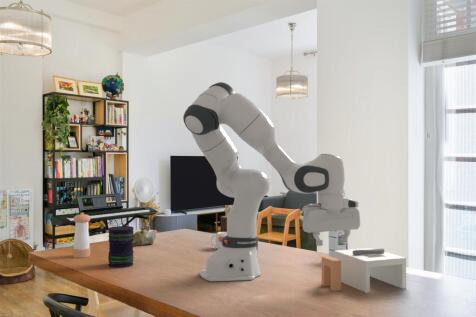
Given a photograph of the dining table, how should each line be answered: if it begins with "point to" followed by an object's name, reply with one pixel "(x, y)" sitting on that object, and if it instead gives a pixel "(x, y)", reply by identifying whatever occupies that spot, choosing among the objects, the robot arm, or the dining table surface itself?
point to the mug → (218, 239)
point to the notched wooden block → (331, 272)
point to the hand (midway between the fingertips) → (331, 244)
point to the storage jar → (121, 246)
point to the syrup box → (336, 242)
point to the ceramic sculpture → (144, 237)
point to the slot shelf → (371, 267)
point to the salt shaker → (81, 236)
